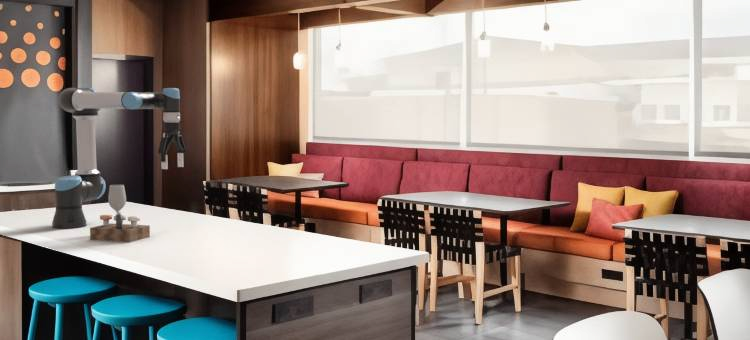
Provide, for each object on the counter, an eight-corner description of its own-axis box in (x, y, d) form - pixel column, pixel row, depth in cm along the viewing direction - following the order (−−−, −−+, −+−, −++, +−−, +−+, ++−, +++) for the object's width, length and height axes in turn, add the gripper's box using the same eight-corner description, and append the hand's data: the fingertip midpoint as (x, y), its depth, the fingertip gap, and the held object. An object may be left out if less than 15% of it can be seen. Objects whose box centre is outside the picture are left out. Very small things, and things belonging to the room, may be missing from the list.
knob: (125, 231, 362) (125, 217, 362) (132, 230, 367) (132, 215, 367) (135, 232, 361) (135, 217, 360) (142, 230, 365) (142, 216, 365)
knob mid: (111, 231, 365) (111, 216, 364) (118, 229, 369) (118, 215, 369) (121, 231, 363) (121, 217, 363) (128, 230, 368) (128, 215, 367)
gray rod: (114, 229, 359) (114, 212, 358) (118, 228, 361) (118, 211, 361) (119, 229, 358) (119, 212, 358) (123, 228, 360) (122, 212, 360)
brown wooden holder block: (90, 239, 363) (89, 227, 363) (110, 234, 376) (110, 223, 376) (130, 242, 357) (130, 230, 356) (149, 237, 370) (149, 225, 369)
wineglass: (105, 232, 383) (104, 185, 381) (118, 230, 390) (116, 184, 388) (118, 233, 379) (116, 186, 378) (130, 231, 386) (129, 184, 384)
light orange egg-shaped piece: (97, 230, 367) (97, 216, 366) (105, 228, 372) (104, 214, 371) (107, 230, 365) (107, 216, 365) (114, 229, 370) (114, 215, 370)
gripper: (164, 122, 380) (164, 170, 382) (193, 121, 403) (193, 166, 405) (149, 122, 382) (150, 169, 384) (179, 121, 406) (179, 165, 407)
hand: (172, 168), depth 395 cm, fingers open, 13 cm apart
